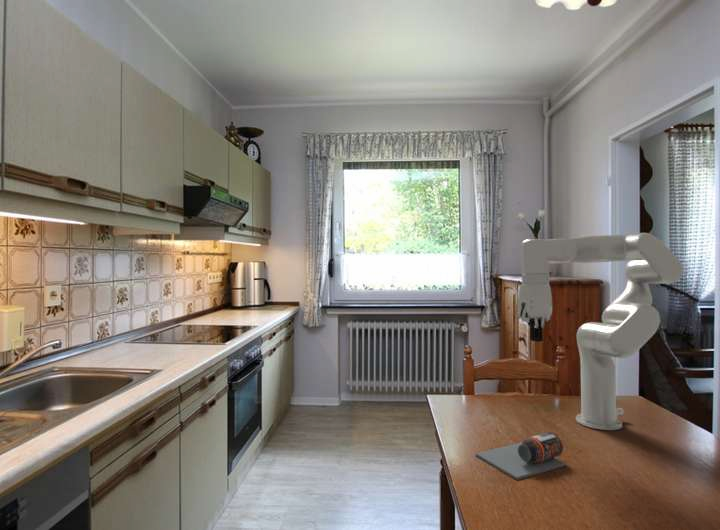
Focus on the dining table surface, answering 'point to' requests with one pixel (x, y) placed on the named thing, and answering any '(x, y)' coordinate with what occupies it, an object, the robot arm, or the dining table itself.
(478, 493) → the dining table surface
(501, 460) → the mat
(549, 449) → the supplement bottle
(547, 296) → the robot arm
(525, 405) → the dining table surface
